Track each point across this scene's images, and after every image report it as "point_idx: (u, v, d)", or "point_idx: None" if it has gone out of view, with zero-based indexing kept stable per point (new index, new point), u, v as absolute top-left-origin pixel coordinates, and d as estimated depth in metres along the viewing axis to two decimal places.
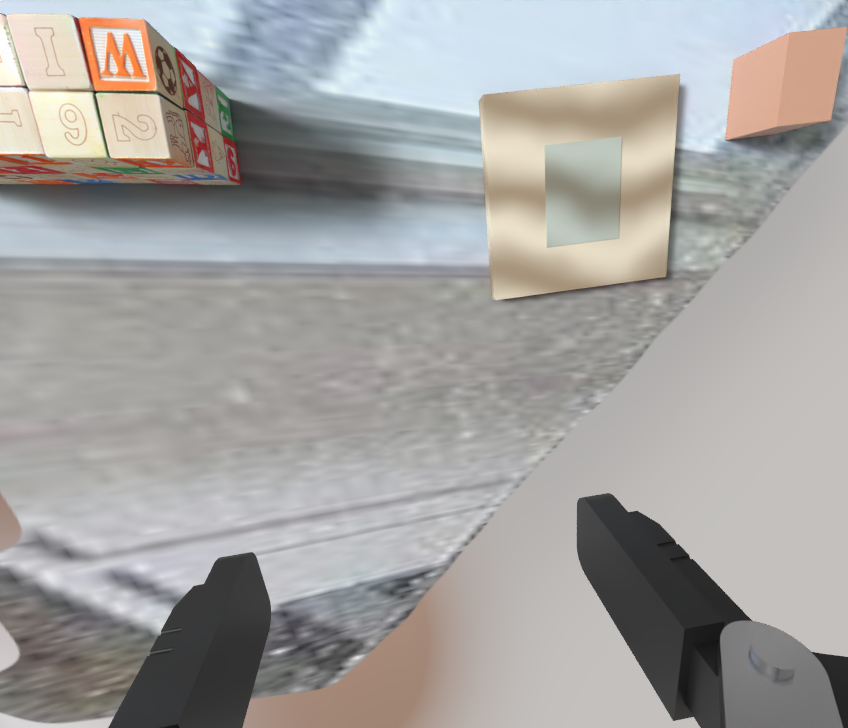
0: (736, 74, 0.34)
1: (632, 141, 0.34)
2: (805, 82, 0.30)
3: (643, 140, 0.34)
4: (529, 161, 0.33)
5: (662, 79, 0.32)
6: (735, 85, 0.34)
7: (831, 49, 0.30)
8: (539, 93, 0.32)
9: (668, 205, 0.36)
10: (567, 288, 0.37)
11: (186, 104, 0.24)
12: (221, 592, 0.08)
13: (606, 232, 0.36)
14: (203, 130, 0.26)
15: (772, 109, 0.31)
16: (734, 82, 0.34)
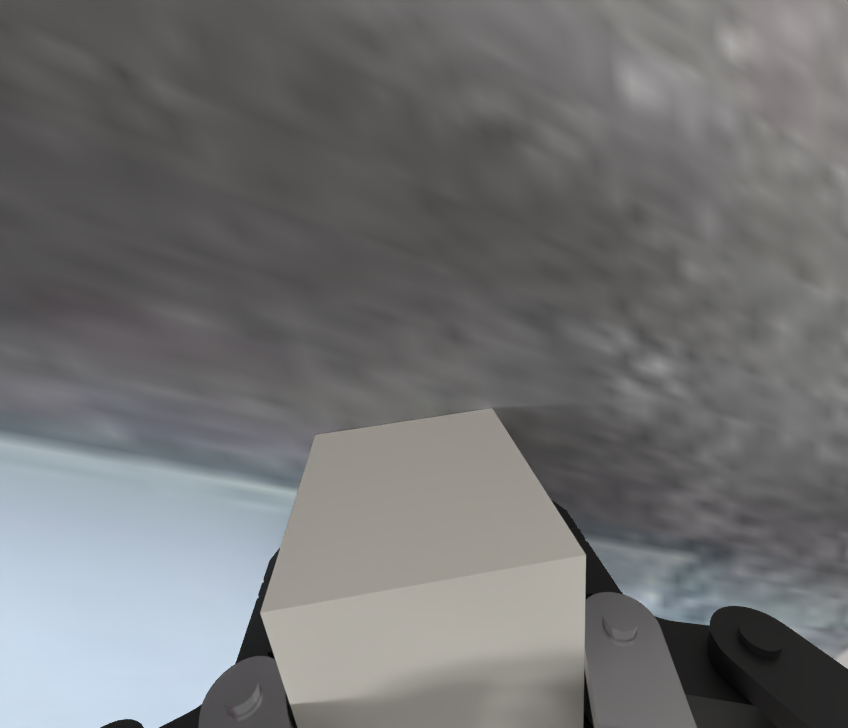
0: None
1: None
2: None
3: None
4: None
5: None
6: None
7: None
8: None
9: None
10: None
11: None
12: None
13: None
14: None
15: None
16: None
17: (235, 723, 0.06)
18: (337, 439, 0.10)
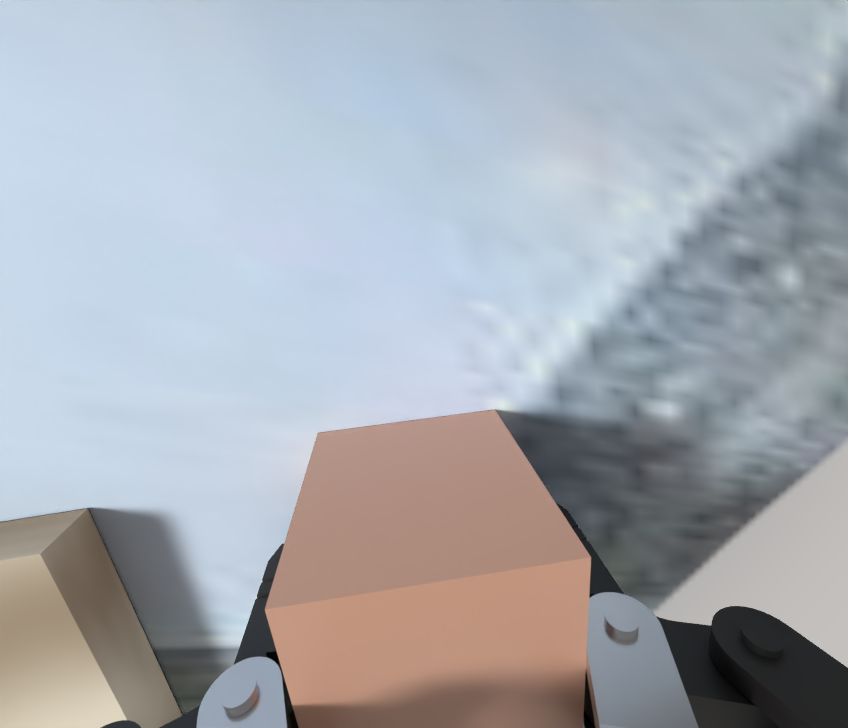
0: None
1: None
2: None
3: None
4: None
5: None
6: None
7: (526, 637, 0.06)
8: None
9: None
10: None
11: None
12: None
13: None
14: None
15: None
16: None
17: (233, 724, 0.06)
18: None
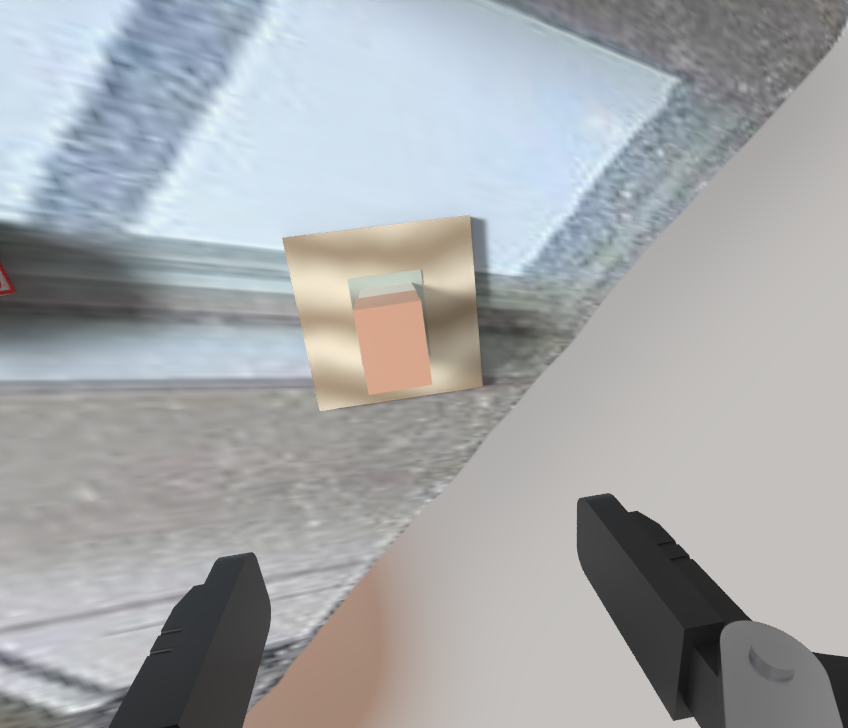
0: None
1: (432, 273, 0.36)
2: (389, 353, 0.28)
3: (442, 271, 0.36)
4: (335, 292, 0.36)
5: (453, 220, 0.35)
6: None
7: (409, 322, 0.27)
8: (336, 235, 0.34)
9: (475, 326, 0.38)
10: (387, 399, 0.40)
11: None
12: (221, 592, 0.08)
13: None
14: None
15: None
16: None
17: None
18: (367, 289, 0.36)
